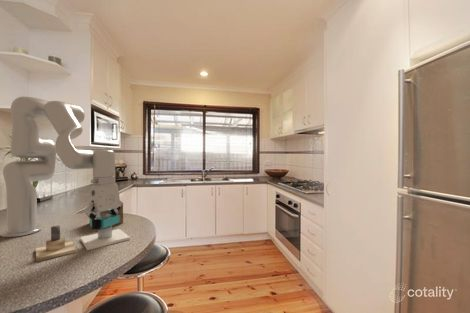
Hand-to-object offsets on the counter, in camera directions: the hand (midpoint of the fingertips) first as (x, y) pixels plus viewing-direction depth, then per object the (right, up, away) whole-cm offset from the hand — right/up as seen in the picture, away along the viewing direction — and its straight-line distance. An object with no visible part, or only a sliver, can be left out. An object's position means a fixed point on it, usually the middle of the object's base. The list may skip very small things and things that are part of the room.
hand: (105, 226), depth 85 cm
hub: (0, -5, 0) cm, 5 cm away
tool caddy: (-13, -6, +22) cm, 26 cm away
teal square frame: (0, +1, 0) cm, 1 cm away
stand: (-11, -5, -10) cm, 16 cm away
